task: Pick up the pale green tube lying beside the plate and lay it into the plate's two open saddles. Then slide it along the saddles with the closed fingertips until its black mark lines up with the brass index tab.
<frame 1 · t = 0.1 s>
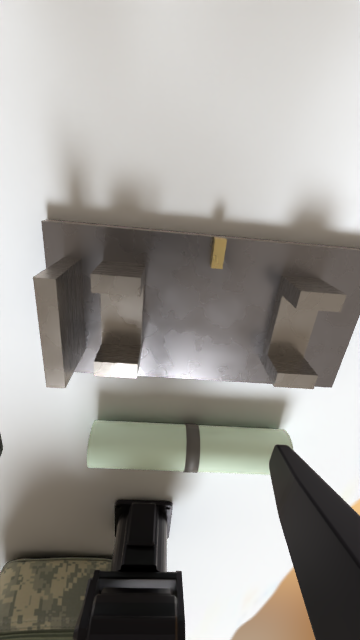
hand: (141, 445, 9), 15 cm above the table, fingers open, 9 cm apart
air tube: (190, 447, 27), point 2 cm above the table
lunch bag: (76, 597, 42), on the table
saddle plate: (206, 311, 23), on the table
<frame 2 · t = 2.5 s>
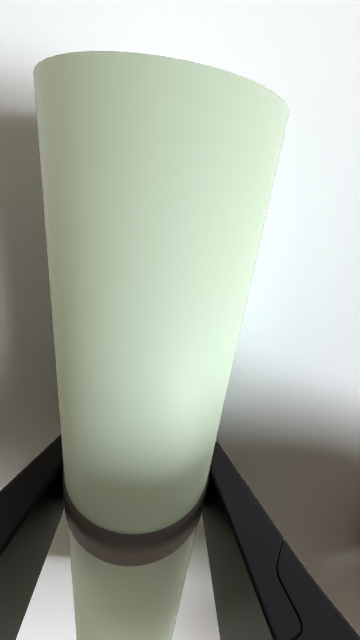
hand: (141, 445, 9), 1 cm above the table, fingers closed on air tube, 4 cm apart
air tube: (138, 472, 9), point 2 cm above the table, touching gripper
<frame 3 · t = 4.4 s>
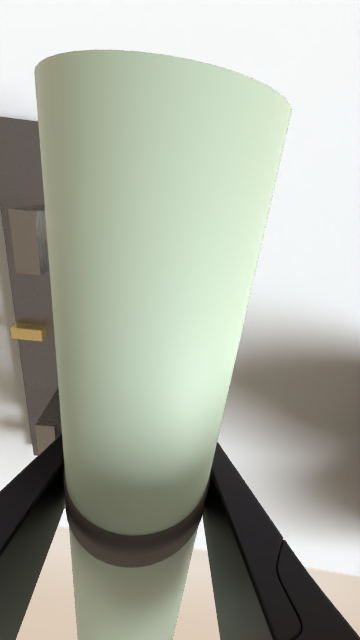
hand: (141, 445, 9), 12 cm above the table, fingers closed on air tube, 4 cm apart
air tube: (139, 473, 9), point 13 cm above the table, touching gripper
saddle plate: (109, 329, 21), on the table
when the fingers open (4 cm above the table, at t = 6.2 s): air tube drops 2 cm, resting on saddle plate.
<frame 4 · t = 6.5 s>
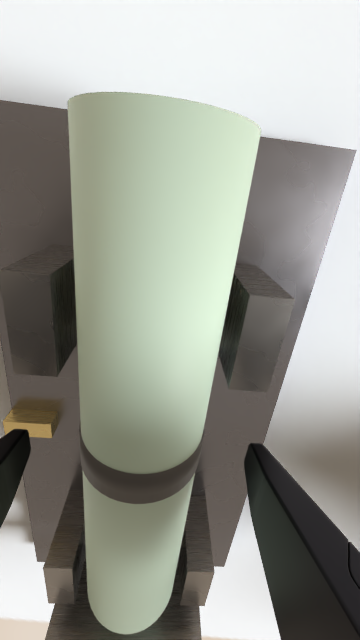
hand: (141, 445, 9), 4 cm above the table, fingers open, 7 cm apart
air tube: (142, 433, 10), point 4 cm above the table, touching saddle plate
saddle plate: (145, 408, 15), on the table
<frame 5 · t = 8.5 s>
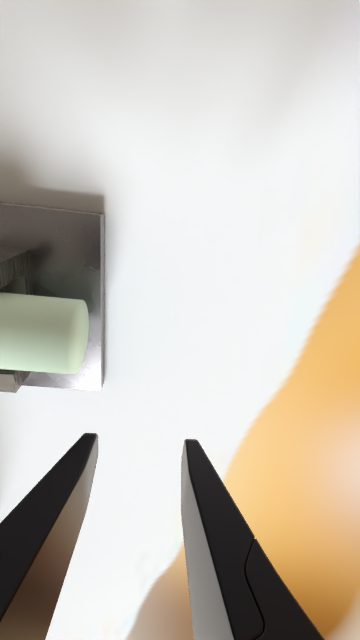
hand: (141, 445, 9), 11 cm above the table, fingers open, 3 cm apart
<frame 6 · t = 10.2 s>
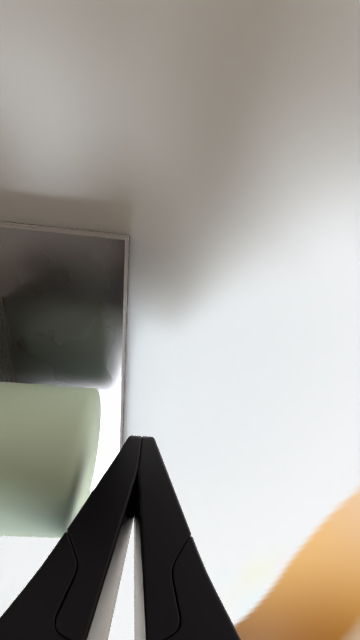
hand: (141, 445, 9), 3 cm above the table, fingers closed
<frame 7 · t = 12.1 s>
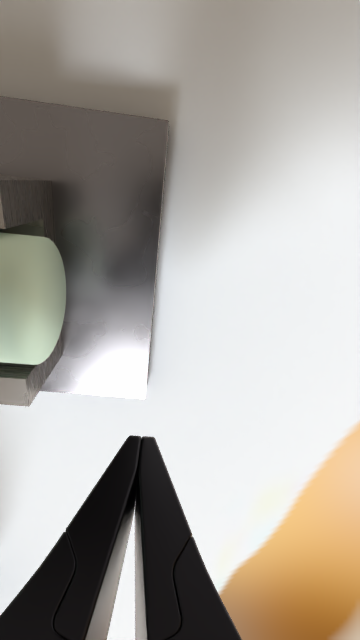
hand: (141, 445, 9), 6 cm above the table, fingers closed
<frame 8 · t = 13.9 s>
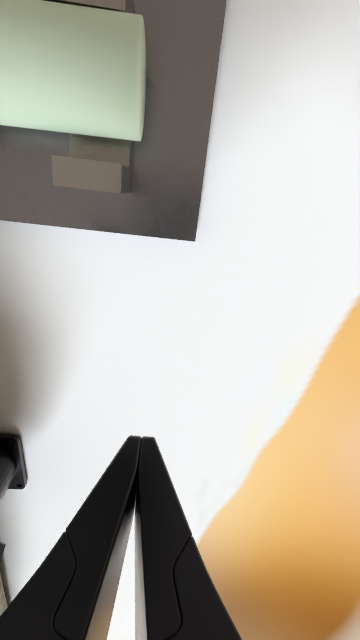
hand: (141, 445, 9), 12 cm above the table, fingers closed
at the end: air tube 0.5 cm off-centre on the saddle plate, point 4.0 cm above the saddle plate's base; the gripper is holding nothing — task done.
